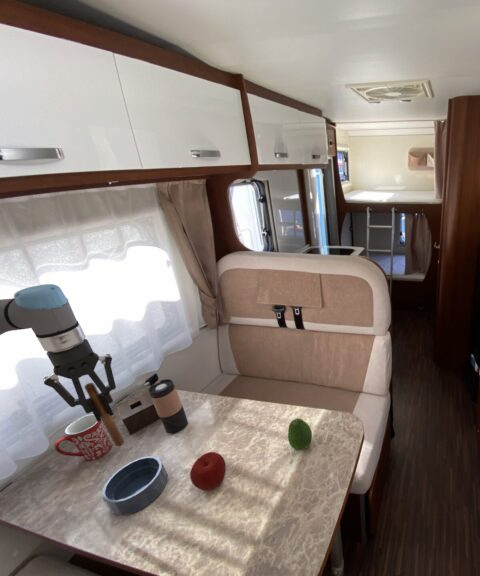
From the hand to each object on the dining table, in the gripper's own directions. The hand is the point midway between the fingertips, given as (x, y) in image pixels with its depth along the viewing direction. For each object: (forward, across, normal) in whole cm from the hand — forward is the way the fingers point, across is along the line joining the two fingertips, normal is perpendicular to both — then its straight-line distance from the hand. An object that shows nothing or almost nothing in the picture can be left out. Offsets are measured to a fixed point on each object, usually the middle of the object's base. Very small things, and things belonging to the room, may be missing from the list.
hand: (104, 415), depth 84 cm
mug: (+30, -9, +28) cm, 42 cm away
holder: (+29, +7, +33) cm, 45 cm away
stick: (+11, 0, 0) cm, 11 cm away
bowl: (+29, -1, -2) cm, 30 cm away
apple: (+30, +15, -17) cm, 37 cm away
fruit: (+30, +41, -28) cm, 58 cm away
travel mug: (+30, +15, +18) cm, 38 cm away
